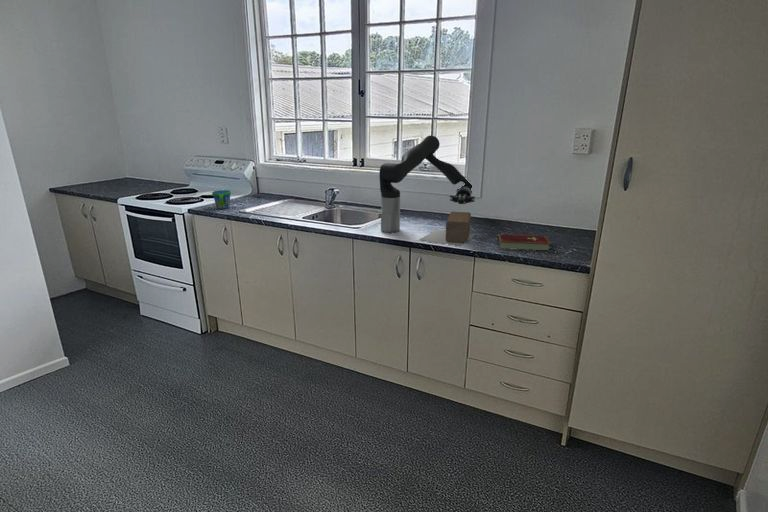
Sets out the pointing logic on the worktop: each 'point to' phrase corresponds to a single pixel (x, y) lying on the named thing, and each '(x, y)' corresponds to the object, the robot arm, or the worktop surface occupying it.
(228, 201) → the snack cup
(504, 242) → the hardcover book
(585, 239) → the worktop surface
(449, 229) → the wooden block
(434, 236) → the grey mat
